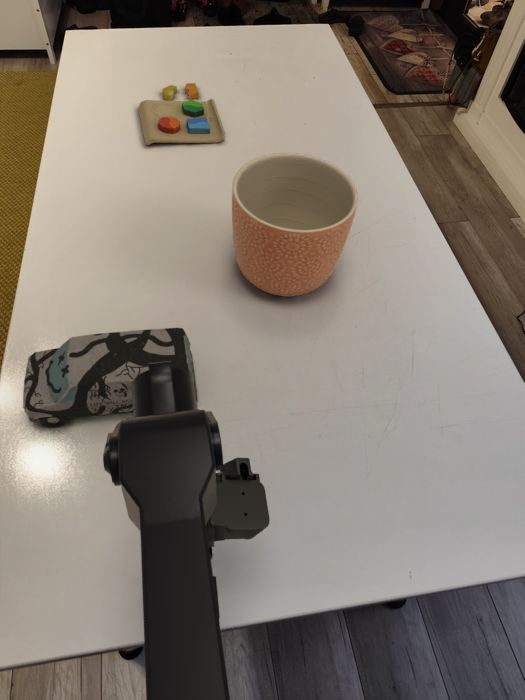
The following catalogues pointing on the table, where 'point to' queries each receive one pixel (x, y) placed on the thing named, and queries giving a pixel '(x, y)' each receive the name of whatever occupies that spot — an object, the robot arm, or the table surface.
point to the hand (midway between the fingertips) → (183, 546)
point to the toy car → (97, 373)
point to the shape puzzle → (180, 119)
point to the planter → (290, 221)
